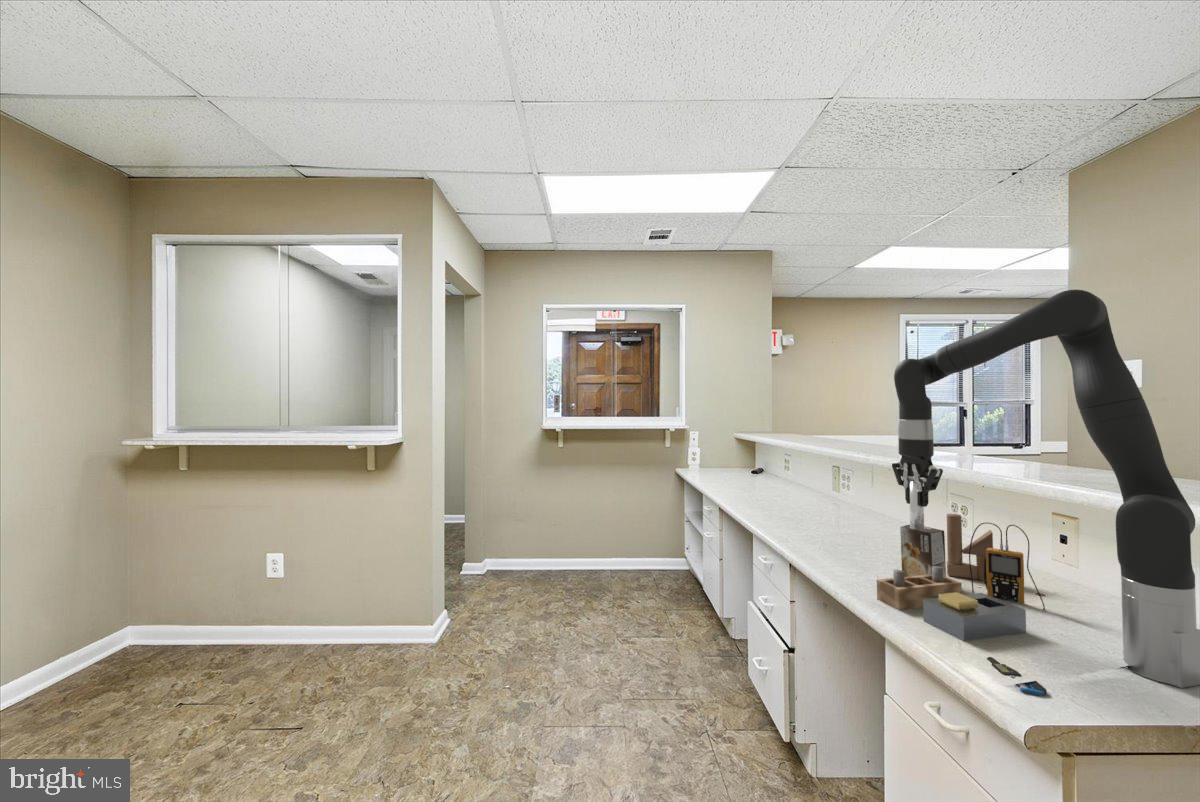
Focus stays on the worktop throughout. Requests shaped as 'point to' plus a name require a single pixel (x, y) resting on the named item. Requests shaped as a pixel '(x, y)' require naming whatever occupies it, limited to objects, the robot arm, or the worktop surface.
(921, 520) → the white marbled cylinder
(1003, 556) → the multimeter
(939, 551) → the coffee box
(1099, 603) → the worktop surface
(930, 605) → the tool block
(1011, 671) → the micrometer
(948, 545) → the wooden block
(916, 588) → the bit rack
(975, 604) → the yellow square-headed peg
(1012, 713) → the worktop surface
